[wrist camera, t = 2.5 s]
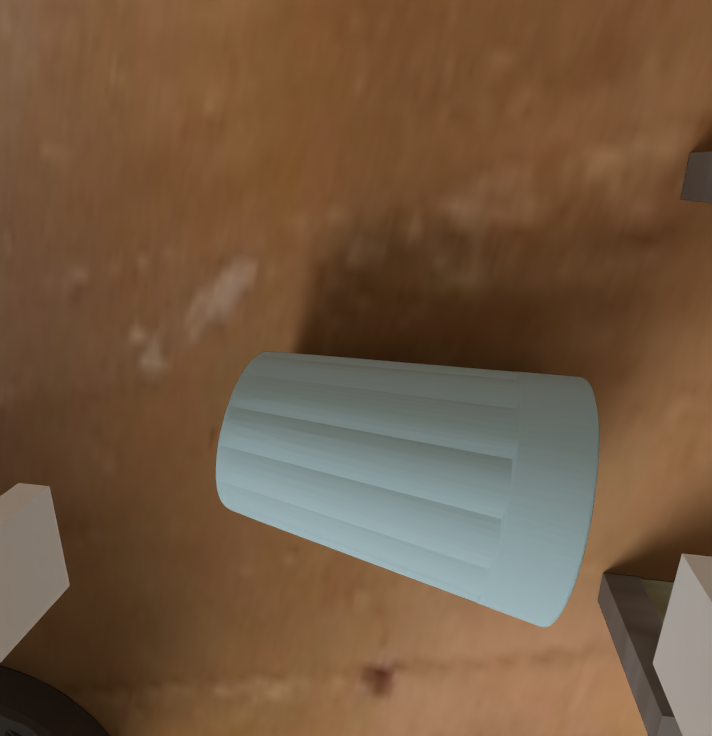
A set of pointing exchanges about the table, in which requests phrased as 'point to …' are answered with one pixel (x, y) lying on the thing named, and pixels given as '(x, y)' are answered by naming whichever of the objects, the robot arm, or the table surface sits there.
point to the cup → (421, 470)
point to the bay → (649, 597)
